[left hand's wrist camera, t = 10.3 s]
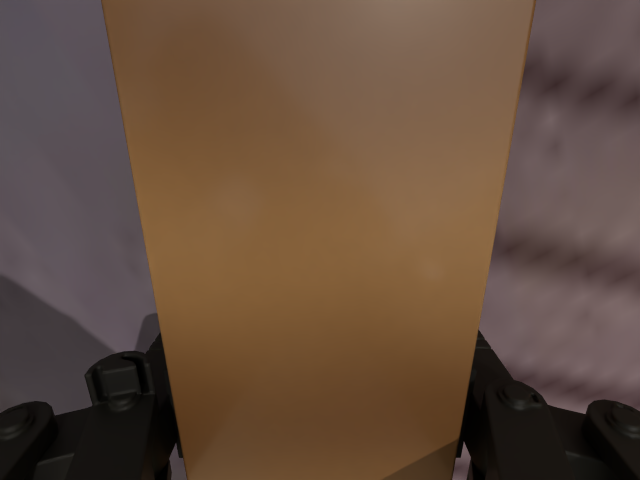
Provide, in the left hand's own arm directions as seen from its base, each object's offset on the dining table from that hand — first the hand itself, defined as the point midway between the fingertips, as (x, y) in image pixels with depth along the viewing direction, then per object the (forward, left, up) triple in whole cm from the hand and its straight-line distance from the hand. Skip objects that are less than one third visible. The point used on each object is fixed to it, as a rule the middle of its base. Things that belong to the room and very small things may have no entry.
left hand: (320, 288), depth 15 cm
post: (+2, +18, -1) cm, 19 cm away
